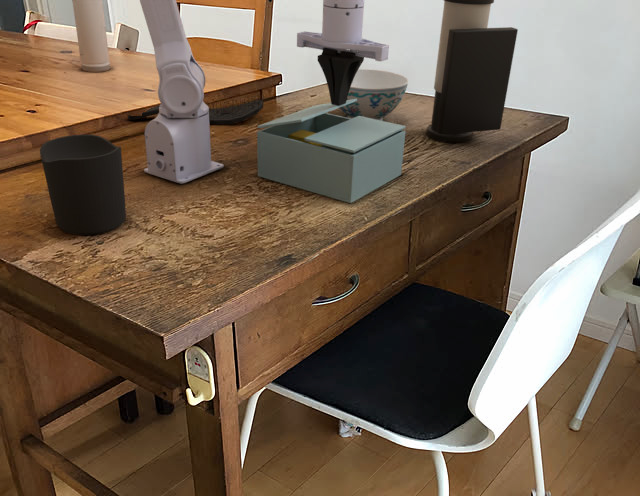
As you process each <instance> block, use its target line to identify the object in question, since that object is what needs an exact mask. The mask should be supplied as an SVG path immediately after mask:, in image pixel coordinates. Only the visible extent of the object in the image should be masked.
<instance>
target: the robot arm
mask: <svg viewBox="0 0 640 496" xmlns="http://www.w3.org/2000/svg"><path fill="white" fill-rule="evenodd" d="M139 3H140V6H141V10H142V13H143V17H144V20H145V23H146V26H147V29H148V32H149V36H150V39H151V43H152V46H153V51H154V59H155V65H156V70H157V73H158V76H159V77H158V78H159V81H158V87H157V97H158V100H159V103H160V104H159V105H160V107H159V114H157V116H156V117H154V119H152V120H150V121H149V122H147V124H146V125H145V128H144V144H145V152H146V163H147V167H146V168H144V169H143V170H144V171H143V172H144V173H146V174H148V175H153V176H155V177H159V178H161V179H165V180H167V181H170V182H174V183H176V184H180V185H183V184H186V183H189V182H191V181H194V180H195V179H198V178H201V177H203V176H207V175H209V174H211V173H214V172H216V171H218V170H221V169H223V168H224V164H223V163H220V162H216V161H214V160H212V148H211V128H210V127H211V125H210V123H209V108H210V106H209V105H206V104H207V103H206V102H204V98H205V92H204V89H205V87H206V74H205V71H204V69H203V68H202V66H201V65H200V64H199V63H198V62H197V60H196V59H195V57H194V54H193V52H192V47H191V45H190V42H189V40H188V38H187V35H186V32H185V29H184V25H183V21H182V17H181V13H180V10H179V7H178V3H177V0H139ZM364 9H365V0H322V22H321V23H322V27H321V32H314V31H313V32H312V31H300V32H297V33H296V47H297V48H308V49H315V50H320V51H321V54H319V55H317V62H318V64H319V66H320V68H321V70H322V73H323V75H324V77H325V81H326V84H327V85H326V86H327V88H328V93H329V97H330V103H331V104H332V105H337V106H340V105H343V104H346V101H347V97H348V93H349V90H350V87H351V84H352V82H353V79H354V77H355V75H356V73H357V71H358V69H360V68H361V66H362V64H363V63H364V61H365V59H371V60H375V61H376V62H383V61H387V60H389V49H390V45H389V44H385V43H381V42H377V41H373V40H370V39H365V38H363V28H364V27H363V26H364V25H363V24H364V11H365V10H364Z"/></svg>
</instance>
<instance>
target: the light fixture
mask: <svg viewBox="0 0 640 496" xmlns="http://www.w3.org/2000/svg"><path fill="white" fill-rule="evenodd" d="M443 1H444V2H443V10H442V18H441V19H442V20H441V26H440V34H439V42H438V51H437V59H436V68H435V76H434V84H433V89H434V91H435V92H434V99H433V106H432V115H431V124H429V125H428V126H427V127H426V136H427V137H428V138H430V139H432V140H434V141H437V142H441V143H449V144H461V143H466V142H469V141H471V140H472V139H473V136H474V133H475V132H476V133H477V132H486V131H487V132H489V131H499V130H501V129H502V128H501V127H502V123H503V117H504V111H505V104H506V99H507V94H508V88H509V81H510V77H511V72H512V71H511V70H512V66H513V59H514V54H515V49H516V43H517V37H518V30H519V29H518V28H515V27H512V26H511V27H510V26H509V27H488V26H489V18H490V11H491V7H492V4H494V3H495V0H443Z"/></svg>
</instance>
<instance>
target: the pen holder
mask: <svg viewBox="0 0 640 496" xmlns="http://www.w3.org/2000/svg"><path fill="white" fill-rule="evenodd" d="M39 155H40V160H41V164H42V168H43V172H44V178H45V182H46V187H47V190H48V195H49V199H50V205H51V209H52V212H53V216H54V220H55V223H56V226H57V227H58V228H59V229H60V230H61V231H62V232H65V233H67V234H71V235H76V236H94V235H101V234H107V233H109V232H112V231H114V230H116V229H118V228H120V227H121V226H122V225H123V224H124V223H125V221H126V218H127V210H126V209H127V208H126V193H125V182H124V181H125V180H124V169H123V155H122V146H117V145H115V144H114V143H113V142H111V141H109V140H108V139H106V138H104V137H103V136H100V135H96V134H72V135H64V136H60V137H55V138H53V139H50V140H48V141H45V142H44V143H42V144H41V146H40V148H39Z"/></svg>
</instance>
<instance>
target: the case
mask: <svg viewBox="0 0 640 496" xmlns="http://www.w3.org/2000/svg"><path fill="white" fill-rule="evenodd" d="M405 129H406V125H402V124H397V123H394V122H389V121H385V120H382V121H381V120H376V119H372V118H367V117H363V116H357V117H355V118H352V119H350V118H347V116H346V117H345V116H341V115H337V114H332V113H329V112H326V113H324V114H321V115H318V116H316V117H313V118H311V119H308V120H305V121H303V122H297V123H291V124H284V125H277V126H270V127H264V128H261V129H260V130H257V131H256V134H257V135H256V137H257V138H256V142H257V143H256V146H257V147H256V151H257V152H256V153H257V154H256V155H257V177H260V178H264V179H267V180H270V181H274V182H277V183H279V184H284V185H287V186H290V187H294V188H297V189H300V190H304V191H307V192H310V193H314V194H318V195H320V196H325V197H327V198H331V199H335V200H338V201H341V202H343V203H344V202H345V203H348V204H352V203H354V202H356V201H358V200H359V199H362V198H363V197H365V196H366V195H368V194H370V193H371V192H374V191H375V190H377V189H379V188H381V187H383V186H384V185H386V184H387V183H389V182H390V181H391V182H392V180H394V179H396V178H398V177H401V175H402V171H403V170H402V169H403V162H404V161H403V160H404V150H405V142H406V133H407V131H406V130H405ZM299 130H305V131H309V132H313V133H315V134H313V135H311V136H308V137H306V138H304V140H305V141H309V142H313V143H317V144H321V145H322V147H320V146H316V145H313V144H309V143H305V142H301V141H297V140H293V139H289V134H292V133H294V132H297V131H299Z"/></svg>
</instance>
